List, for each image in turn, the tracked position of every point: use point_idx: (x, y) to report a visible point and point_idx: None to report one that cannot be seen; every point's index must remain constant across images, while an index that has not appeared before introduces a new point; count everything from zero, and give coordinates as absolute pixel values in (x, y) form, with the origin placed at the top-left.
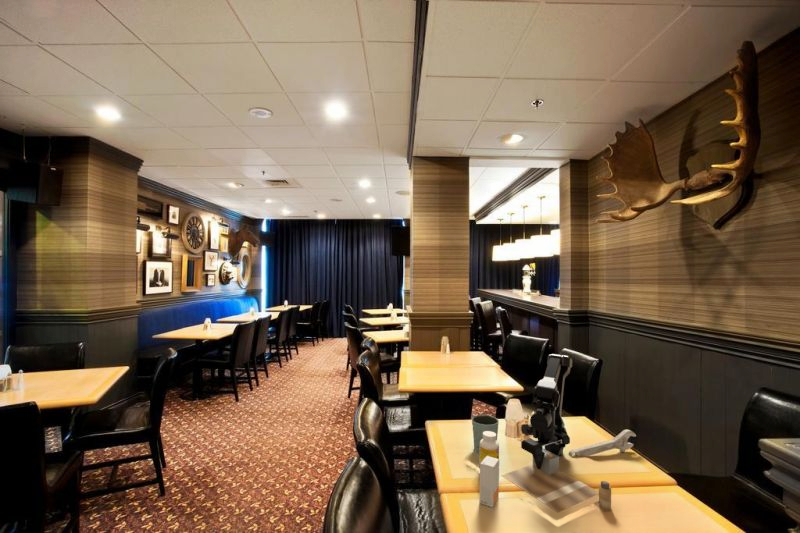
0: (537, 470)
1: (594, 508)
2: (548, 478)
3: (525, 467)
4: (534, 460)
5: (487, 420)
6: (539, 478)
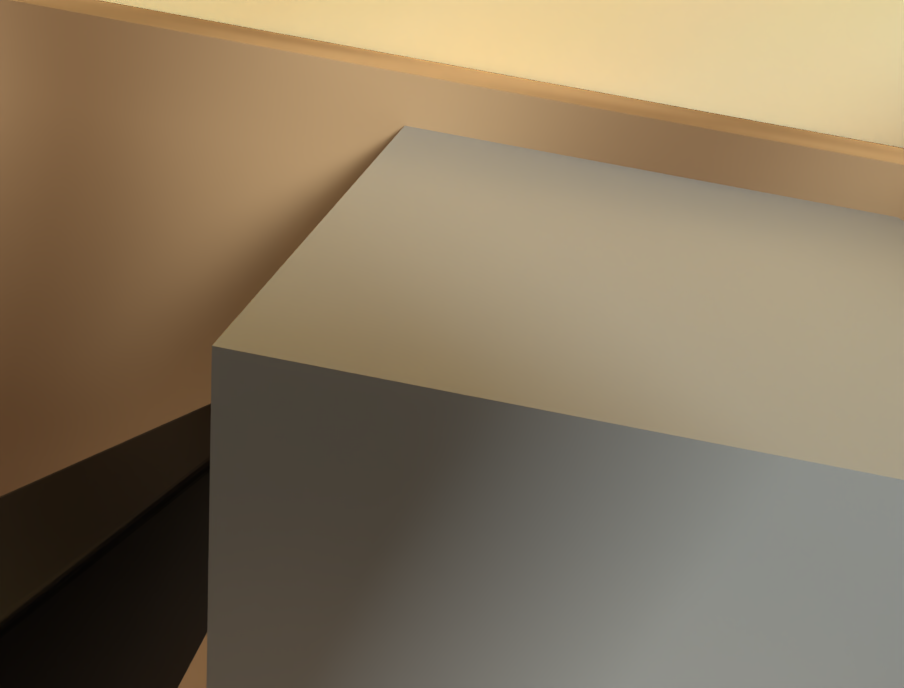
0: None
1: None
2: (195, 656)
3: (81, 39)
4: (35, 482)
5: None
6: None
